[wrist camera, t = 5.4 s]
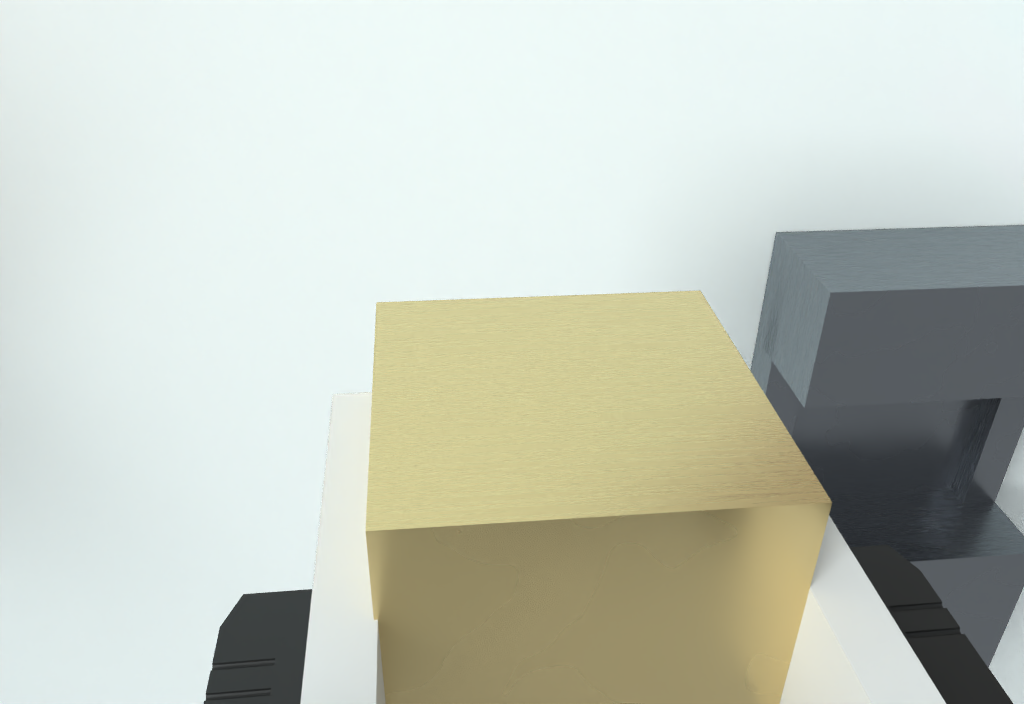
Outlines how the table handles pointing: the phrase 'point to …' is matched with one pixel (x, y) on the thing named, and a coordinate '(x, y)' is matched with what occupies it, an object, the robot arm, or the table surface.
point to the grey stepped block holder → (908, 397)
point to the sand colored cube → (581, 505)
